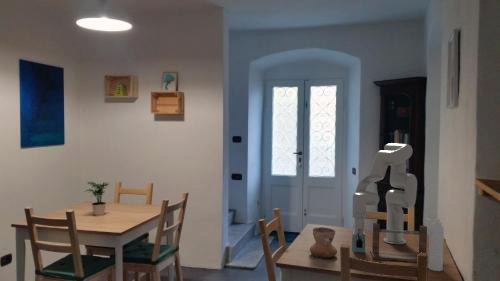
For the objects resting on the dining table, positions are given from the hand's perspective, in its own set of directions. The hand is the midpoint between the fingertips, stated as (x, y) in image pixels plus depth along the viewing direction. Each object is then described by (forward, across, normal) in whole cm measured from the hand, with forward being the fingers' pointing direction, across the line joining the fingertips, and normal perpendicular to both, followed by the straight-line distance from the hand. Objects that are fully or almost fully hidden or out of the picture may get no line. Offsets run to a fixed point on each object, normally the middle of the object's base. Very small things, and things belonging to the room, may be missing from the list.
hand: (358, 245), depth 227 cm
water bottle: (+3, +24, +33) cm, 41 cm away
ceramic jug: (+3, +13, -20) cm, 24 cm away
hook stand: (+3, +9, +20) cm, 22 cm away
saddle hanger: (+3, 0, 0) cm, 3 cm away
